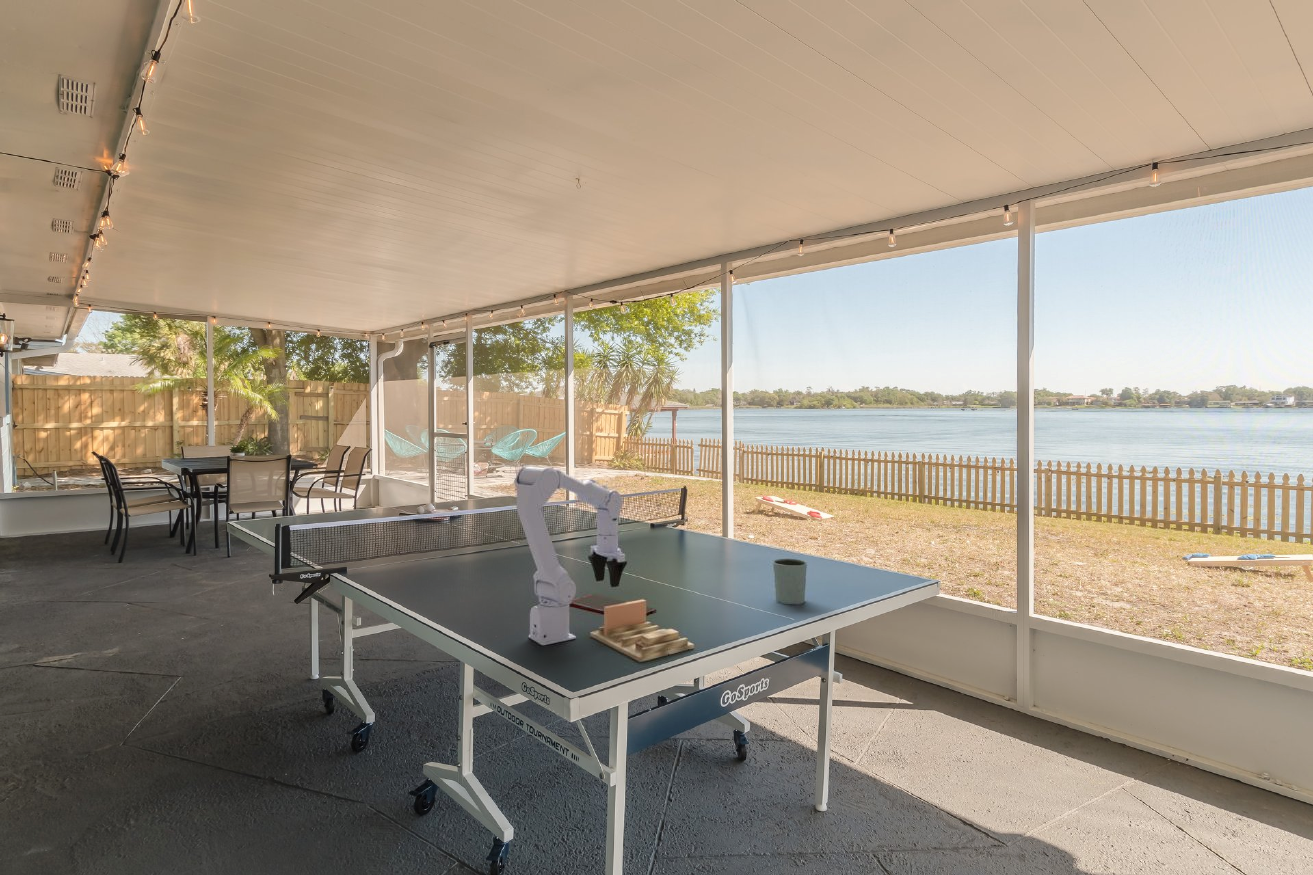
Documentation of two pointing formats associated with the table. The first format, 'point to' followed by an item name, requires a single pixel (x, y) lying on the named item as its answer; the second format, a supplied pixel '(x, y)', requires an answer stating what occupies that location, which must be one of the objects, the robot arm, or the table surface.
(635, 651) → the rack
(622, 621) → the upright wooden plank
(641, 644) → the offcut lower
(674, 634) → the offcut upper
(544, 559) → the robot arm
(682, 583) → the table surface
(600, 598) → the dark red board
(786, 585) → the green cup
